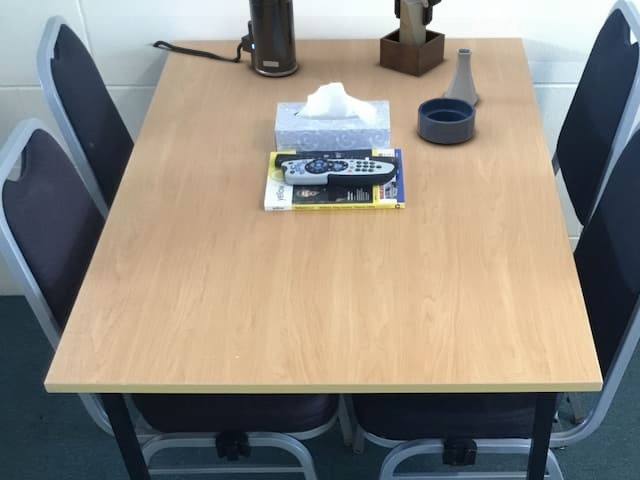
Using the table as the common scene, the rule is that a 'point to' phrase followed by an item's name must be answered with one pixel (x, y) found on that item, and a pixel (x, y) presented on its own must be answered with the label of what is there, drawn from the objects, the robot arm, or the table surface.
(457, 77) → the flask
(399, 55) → the box
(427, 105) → the bowl
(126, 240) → the table surface
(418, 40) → the box
